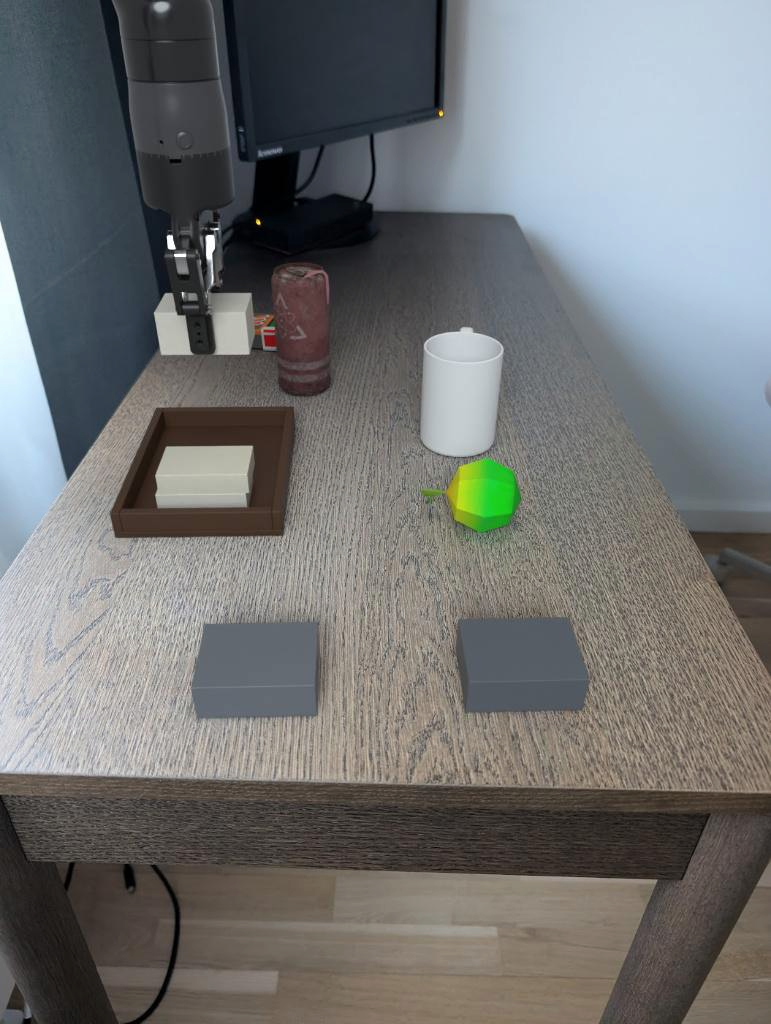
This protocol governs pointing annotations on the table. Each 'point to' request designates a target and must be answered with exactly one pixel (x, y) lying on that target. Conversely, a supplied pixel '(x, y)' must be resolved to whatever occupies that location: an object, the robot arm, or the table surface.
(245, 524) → the tray
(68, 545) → the table surface
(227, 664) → the pair of grey blocks
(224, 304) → the cream rectangular block
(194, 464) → the cream layered block
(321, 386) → the can
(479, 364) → the mug
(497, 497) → the apple
